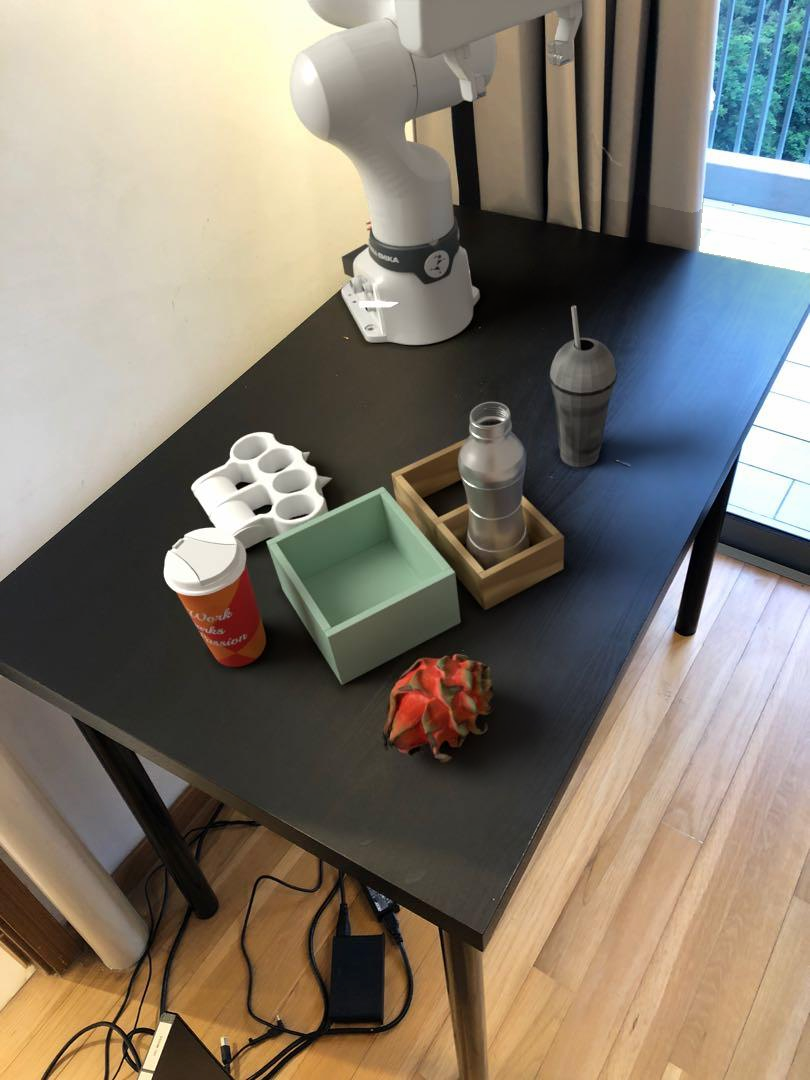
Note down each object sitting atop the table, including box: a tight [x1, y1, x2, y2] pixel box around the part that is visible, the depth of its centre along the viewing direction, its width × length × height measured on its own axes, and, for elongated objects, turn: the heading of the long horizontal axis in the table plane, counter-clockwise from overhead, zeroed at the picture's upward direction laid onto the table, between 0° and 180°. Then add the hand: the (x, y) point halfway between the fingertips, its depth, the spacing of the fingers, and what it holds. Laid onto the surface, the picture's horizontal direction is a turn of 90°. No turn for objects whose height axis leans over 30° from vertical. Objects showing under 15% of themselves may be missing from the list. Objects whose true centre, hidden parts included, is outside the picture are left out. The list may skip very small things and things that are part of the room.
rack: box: [391, 438, 565, 611], centre depth 95 cm, size 19×10×5 cm, turn 29°
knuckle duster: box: [190, 431, 333, 550], centre depth 103 cm, size 3×18×15 cm
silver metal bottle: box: [458, 401, 531, 571], centre depth 86 cm, size 6×7×20 cm
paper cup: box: [163, 527, 267, 668], centre depth 85 cm, size 8×8×14 cm
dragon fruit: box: [382, 653, 495, 764], centre depth 78 cm, size 8×8×12 cm
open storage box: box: [266, 486, 462, 686], centre depth 88 cm, size 15×14×8 cm
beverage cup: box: [548, 305, 618, 468], centre depth 96 cm, size 7×7×20 cm
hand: (518, 80), depth 77 cm, fingers open, 8 cm apart
